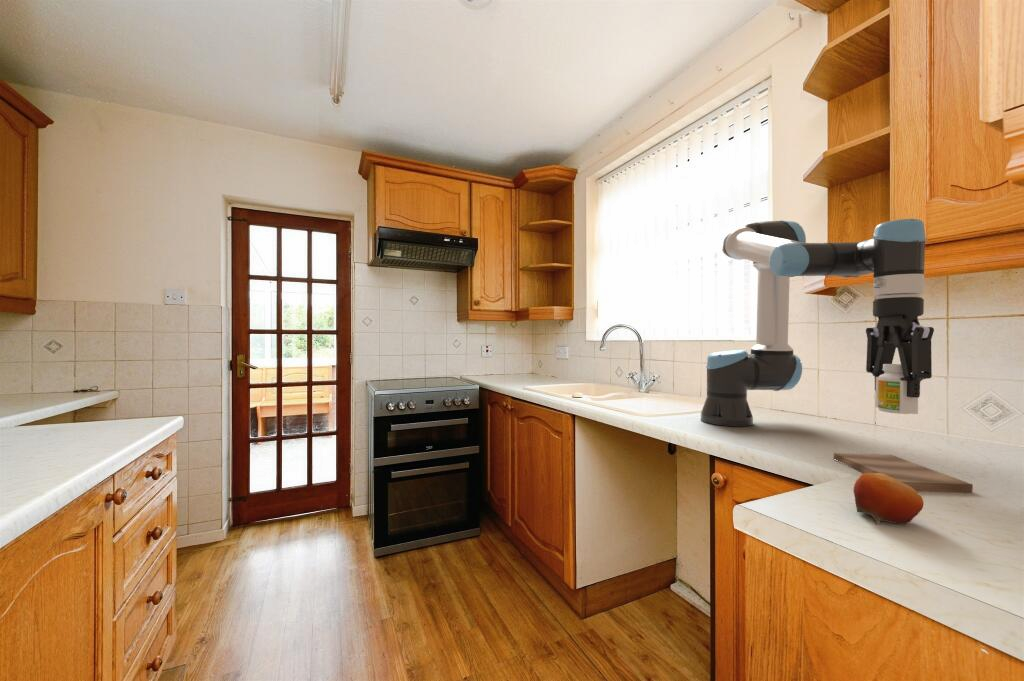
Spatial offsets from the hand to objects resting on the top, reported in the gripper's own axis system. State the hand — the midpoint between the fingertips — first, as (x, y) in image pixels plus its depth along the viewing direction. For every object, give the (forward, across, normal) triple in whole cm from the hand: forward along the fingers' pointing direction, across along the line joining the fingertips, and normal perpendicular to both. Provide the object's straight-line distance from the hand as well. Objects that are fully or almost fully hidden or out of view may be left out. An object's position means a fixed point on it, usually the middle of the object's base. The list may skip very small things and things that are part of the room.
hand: (895, 410), depth 83 cm
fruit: (+13, +22, -18) cm, 31 cm away
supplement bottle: (+1, 0, 0) cm, 1 cm away
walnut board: (+13, 0, 0) cm, 13 cm away
